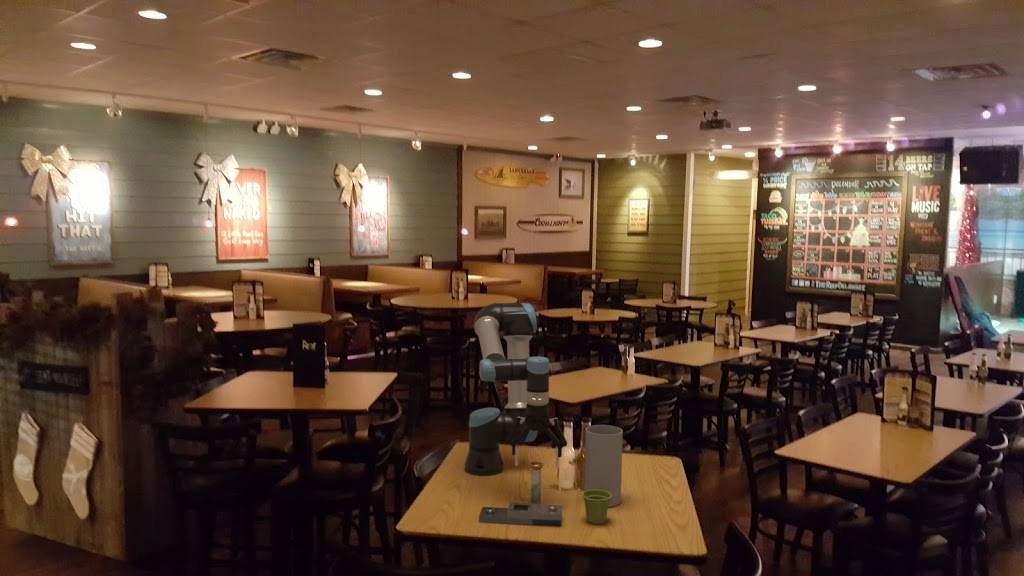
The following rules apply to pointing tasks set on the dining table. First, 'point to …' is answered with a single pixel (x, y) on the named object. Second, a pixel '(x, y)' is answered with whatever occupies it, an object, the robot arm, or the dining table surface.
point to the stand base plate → (523, 514)
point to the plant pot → (596, 505)
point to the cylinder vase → (604, 460)
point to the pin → (536, 482)
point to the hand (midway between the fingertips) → (536, 465)
